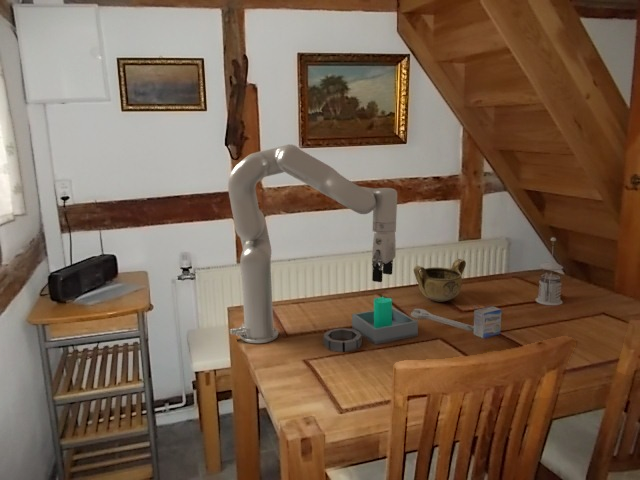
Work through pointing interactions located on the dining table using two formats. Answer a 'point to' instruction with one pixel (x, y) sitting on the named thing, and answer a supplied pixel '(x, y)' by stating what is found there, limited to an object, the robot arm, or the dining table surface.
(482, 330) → the medicine box
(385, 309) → the candle
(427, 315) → the adjustable wrench
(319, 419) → the dining table surface
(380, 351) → the dining table surface
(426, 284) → the ceramic bowl
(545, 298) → the french press
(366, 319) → the bin
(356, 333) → the collar
